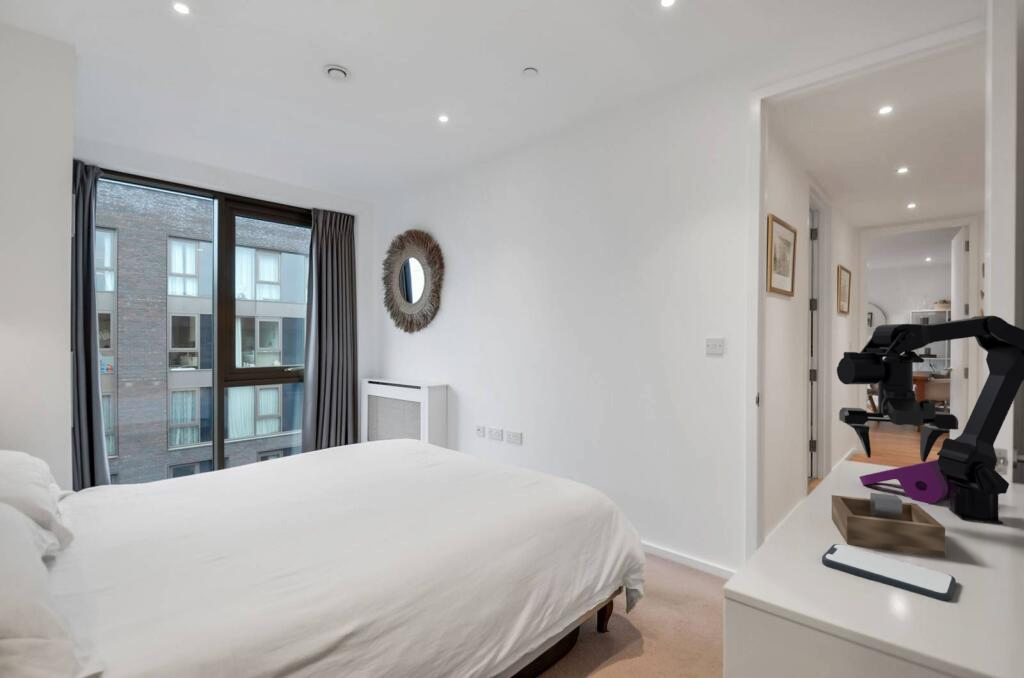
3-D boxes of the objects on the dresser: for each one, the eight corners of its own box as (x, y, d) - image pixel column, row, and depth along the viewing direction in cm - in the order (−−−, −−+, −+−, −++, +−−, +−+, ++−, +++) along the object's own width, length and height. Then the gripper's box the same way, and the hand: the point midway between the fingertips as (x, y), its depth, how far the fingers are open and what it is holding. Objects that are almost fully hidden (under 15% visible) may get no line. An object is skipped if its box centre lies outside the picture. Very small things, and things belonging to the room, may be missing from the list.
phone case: (956, 585, 74) (834, 550, 86) (956, 575, 74) (834, 541, 86) (949, 608, 68) (819, 567, 80) (950, 597, 68) (819, 557, 80)
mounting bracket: (867, 513, 120) (950, 500, 105) (851, 478, 123) (929, 462, 109) (888, 506, 124) (970, 494, 110) (871, 473, 127) (949, 457, 113)
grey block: (890, 526, 93) (890, 490, 93) (902, 539, 87) (902, 500, 87) (865, 523, 95) (865, 487, 95) (875, 535, 89) (875, 497, 89)
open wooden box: (916, 529, 94) (916, 503, 94) (945, 557, 82) (945, 527, 82) (831, 519, 100) (831, 495, 100) (847, 544, 88) (847, 516, 88)
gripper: (851, 386, 97) (851, 464, 97) (971, 389, 90) (972, 474, 90) (838, 381, 107) (838, 452, 107) (945, 384, 100) (946, 460, 100)
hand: (895, 459), depth 101 cm, fingers open, 9 cm apart
